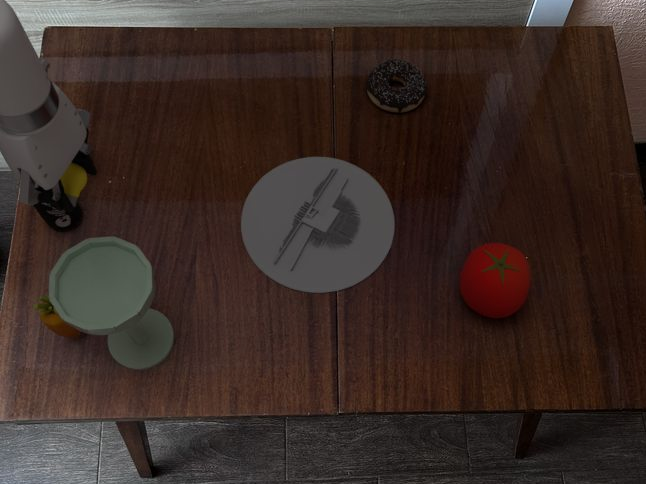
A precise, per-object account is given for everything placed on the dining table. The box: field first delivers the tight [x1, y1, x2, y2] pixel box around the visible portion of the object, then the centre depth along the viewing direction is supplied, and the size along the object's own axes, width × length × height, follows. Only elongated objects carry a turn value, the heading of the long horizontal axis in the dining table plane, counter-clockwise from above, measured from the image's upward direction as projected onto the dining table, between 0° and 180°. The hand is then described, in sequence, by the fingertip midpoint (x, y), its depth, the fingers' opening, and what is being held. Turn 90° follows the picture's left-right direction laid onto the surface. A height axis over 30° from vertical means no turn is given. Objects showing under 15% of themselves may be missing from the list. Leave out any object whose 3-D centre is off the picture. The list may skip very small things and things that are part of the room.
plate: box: [240, 156, 396, 294], centre depth 126 cm, size 28×28×1 cm
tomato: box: [459, 242, 532, 319], centre depth 117 cm, size 13×11×14 cm
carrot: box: [33, 295, 81, 339], centre depth 111 cm, size 5×5×15 cm
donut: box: [364, 58, 428, 114], centre depth 135 cm, size 11×12×4 cm
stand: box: [107, 308, 175, 371], centre depth 108 cm, size 11×11×21 cm
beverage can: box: [32, 179, 83, 232], centre depth 120 cm, size 7×7×12 cm
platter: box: [48, 236, 157, 336], centre depth 97 cm, size 14×14×2 cm
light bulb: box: [60, 162, 88, 207], centre depth 93 cm, size 3×6×4 cm, turn 175°
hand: (74, 187), depth 94 cm, fingers closed on light bulb, 5 cm apart
